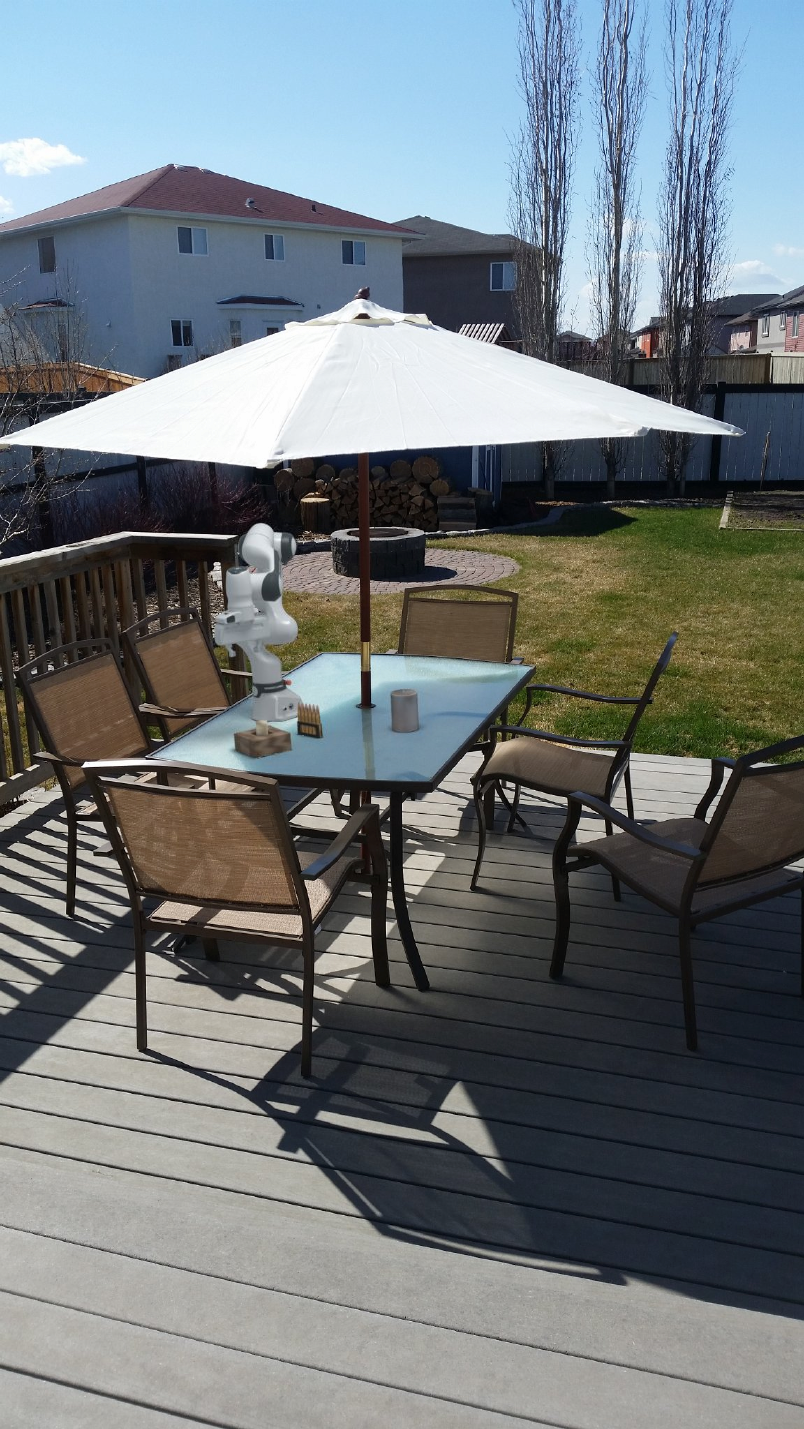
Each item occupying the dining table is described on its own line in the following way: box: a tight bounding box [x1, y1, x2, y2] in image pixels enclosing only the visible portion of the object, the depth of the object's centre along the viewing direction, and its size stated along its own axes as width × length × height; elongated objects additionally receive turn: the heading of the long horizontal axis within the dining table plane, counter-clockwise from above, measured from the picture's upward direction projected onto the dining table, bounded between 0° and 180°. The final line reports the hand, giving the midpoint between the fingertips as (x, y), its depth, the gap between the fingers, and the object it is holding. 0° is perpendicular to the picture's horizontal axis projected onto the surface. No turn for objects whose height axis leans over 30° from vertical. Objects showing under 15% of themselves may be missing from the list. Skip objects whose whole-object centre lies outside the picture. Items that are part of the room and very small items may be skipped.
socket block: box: [233, 724, 293, 759], centre depth 364 cm, size 14×14×6 cm
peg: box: [254, 720, 269, 737], centre depth 363 cm, size 4×4×10 cm
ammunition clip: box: [296, 702, 324, 740], centre depth 377 cm, size 11×2×12 cm, turn 52°
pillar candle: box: [390, 688, 420, 734], centre depth 380 cm, size 10×10×15 cm
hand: (244, 654), depth 368 cm, fingers open, 8 cm apart
